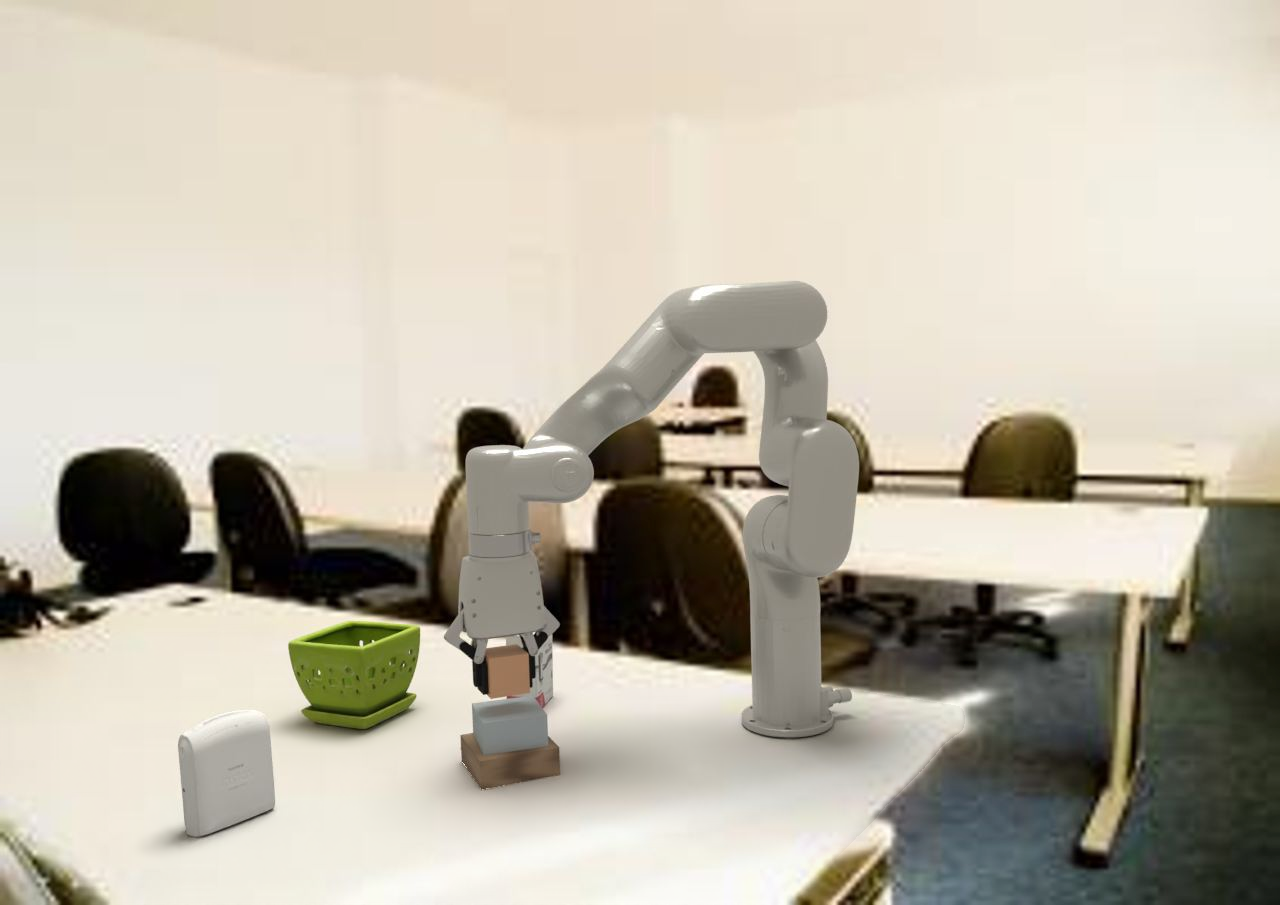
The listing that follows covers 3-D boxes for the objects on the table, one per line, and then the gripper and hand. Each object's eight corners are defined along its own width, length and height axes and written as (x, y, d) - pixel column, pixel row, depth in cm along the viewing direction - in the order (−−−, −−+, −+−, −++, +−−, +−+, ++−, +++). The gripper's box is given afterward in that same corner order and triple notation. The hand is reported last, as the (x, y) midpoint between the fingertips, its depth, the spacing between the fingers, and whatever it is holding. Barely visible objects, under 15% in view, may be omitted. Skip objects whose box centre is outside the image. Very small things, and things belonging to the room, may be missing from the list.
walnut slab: (536, 751, 141) (534, 722, 140) (560, 778, 132) (559, 747, 131) (461, 765, 137) (460, 734, 137) (481, 793, 128) (479, 761, 127)
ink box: (539, 715, 154) (536, 634, 153) (506, 713, 155) (502, 633, 154) (556, 696, 162) (552, 619, 161) (524, 694, 163) (521, 618, 162)
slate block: (534, 725, 139) (533, 695, 139) (548, 746, 132) (547, 714, 131) (473, 733, 137) (471, 703, 136) (484, 755, 129) (482, 723, 129)
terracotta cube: (518, 682, 137) (516, 644, 137) (529, 692, 132) (528, 653, 132) (480, 687, 135) (478, 649, 135) (490, 698, 130) (489, 659, 130)
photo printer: (197, 841, 116) (189, 731, 115) (178, 831, 119) (170, 724, 118) (281, 809, 124) (275, 706, 123) (262, 800, 127) (255, 699, 126)
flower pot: (428, 707, 159) (423, 624, 158) (367, 739, 146) (362, 649, 145) (353, 697, 165) (349, 617, 164) (289, 727, 152) (283, 640, 151)
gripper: (554, 534, 139) (559, 671, 140) (424, 547, 132) (431, 690, 134) (574, 543, 132) (579, 686, 134) (438, 556, 125) (444, 707, 127)
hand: (504, 686), depth 134 cm, fingers closed on terracotta cube, 5 cm apart
